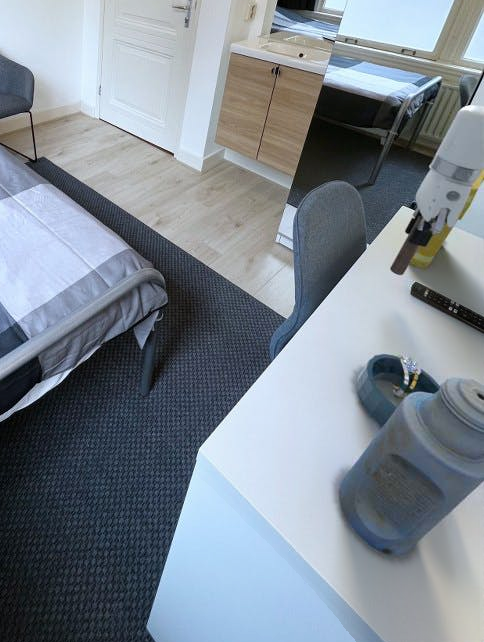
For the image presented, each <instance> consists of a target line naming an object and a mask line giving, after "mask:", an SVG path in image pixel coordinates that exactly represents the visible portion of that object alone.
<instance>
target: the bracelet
mask: <svg viewBox="0 0 484 642" xmlns="http://www.w3.org/2000/svg"><path fill="white" fill-rule="evenodd" d="M397 357H399V358H400V362H401V365H402V367H403V371H404V382H403V385H402V387H400V389H399V385H397V384H395V383H393V382H392V387H393V388H392V394H393V395H394V396H396V397H398V398H400V399H404V398H405V397H406V396H408V395H409V394H410V392H411V391H412V389H413V388H414V386H415V384H416V382H417V379H418V374H420V373H421V369H422V368H421V366H420V364H419V363H418V362H417V361H415V360H414V359H413V357H412V356H406V357H404V356H402V355H400V354H399V355H398V356H397ZM415 370H416V371H415ZM408 373H409V374H410V375H411V374H412V376H411V381H410V383H409V385H408V381H409V375H408ZM407 385H408V387H407ZM394 388H395V389H394Z"/></svg>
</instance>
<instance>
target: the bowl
mask: <svg viewBox="0 0 484 642" xmlns="http://www.w3.org/2000/svg"><path fill="white" fill-rule="evenodd" d="M415 371H416V370H415ZM408 375H409V381H408V385H409V383H410V381H411V376H412V374H411V375H410V374H409V373H408ZM378 380H382V381H388V382H390V383H392V384H393V383H394V384H396V385H398V387H400V388H401V387H402V385H403V382H404V371H403V367H402V365H401V362H400V358H399V357H398V356H397V355H395V354H387V353H380V354H375V355H373V356H372V357H371V358H369V360H368V361H367V362H366V363H365V365H364V366H363V369H362V370H361V371H360V373H359V375H358V377H357V380H356V382H355V383H356V384H355V385H356V392H357V395H358V397H359V399H360V401H361V403H362V405H363V407H364V408H365V409H366V410H367V412H368V413H369V415H370V416H371V417H372V418H373V419H374V420H375V421H376V422H378V424H380V425H381V426H382V427H383V426H384V425H385V423H386V422H387V421H388V419H389V418H390V417H391V415H392V414H393V413H394V411H395V410H396V409H397V407H398V406H397V405H395V404H394V403H393V402H391V401H390V400H389V399H388V398H387V397H386V395H385V394H384V393H383V392H382V391H381V390H380V388H379V387H378V385H377V382H376V381H378ZM408 385H407V387H408ZM440 386H441V385H440V384H439V383H438V382H437V381H436V380H435V379H434V378H433V377H432V375H430V374H429V373H428V372H426V371H425V370H424V369H422V368H421V373H420V374H418V379H417V382H416V384H415V386H414V388H413V389H412V391H411V392H410V393H409V394H411V393H414V392H426V393H431V394H434V393H436V392H437V391H439V389H440Z"/></svg>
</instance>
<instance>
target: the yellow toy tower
mask: <svg viewBox="0 0 484 642" xmlns="http://www.w3.org/2000/svg"><path fill="white" fill-rule="evenodd" d="M483 182H484V169H483V171H482V172H481V174H480V176H479V177H478V179H477V181H476V182H475V183H474V184H472V188H471V191H470V194H469V197H468V199H467V201H466V203H465V206H464V208H463V210H462V212H461V213H460V215H459V217H458V219H457V221H456V223H455V224H454V226H453V227H451V228H450V227H448V226H447V225H446V224H445V222H444V225H443V228H442V231H441V233H435V234H433V236H432V237H431V239H430V241H429V242H428V244H427V246H426V247H423V246H419V248H418V250H417V252H416V253H415V255H414V257H413V258H412V260H411V262H410V264H411V265H412V266H414V267H416V268H421V269H426V268H428V267H429V266H430V264H431V263H432V261H433V260H434V258H435V257H436V255H437V253H438V252H439V250H440V249H441V247H442V246H443V244H444V242H445V241H446V239H447V238H448V236H449V235H450V233H451V231H452V230H453V228H454V227H455V225H456V224H457V222H458V221H461V220H462V219H463V217H464V216H465V214H466V212H467V211H468V210H469V208H470V207H471V205H472V203H473V201H474V198H475V196H476V194H477V193H478V191H479V188H480V187H481V185H482V183H483ZM432 225H433V224H432ZM410 264H409V265H410Z"/></svg>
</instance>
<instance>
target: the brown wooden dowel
mask: <svg viewBox="0 0 484 642" xmlns="http://www.w3.org/2000/svg"><path fill="white" fill-rule="evenodd" d="M422 218H423V216H422V215H421V216H419V217H418V219H417V221H416V222H415V224H414V226H413V228H412V230H411V231H410V233H409V234H407V237H406V239H405V241H404V242H403V244H402V246H401V247H400V249H399V251H398V252H397V255H396V256H395V259H394V261H392V264H391V265H390V268H389V269H390V271H391V272H392V274H394V275H397V276H403V275H404V274H405V273H406V270H407V269H408V267H409V266H410V262H411V260H412V258H413V257H414V255H415V253H416V252H417V250H418V248H419V245H415V244H412V243H409V241H408V239H409V238H410V236H411V234H412V232H413V230H414V229H415V227H418V226H419V224H420V222H421V220H422ZM426 224H431V225H432V224H433V223H431V222H427V223H426Z"/></svg>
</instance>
